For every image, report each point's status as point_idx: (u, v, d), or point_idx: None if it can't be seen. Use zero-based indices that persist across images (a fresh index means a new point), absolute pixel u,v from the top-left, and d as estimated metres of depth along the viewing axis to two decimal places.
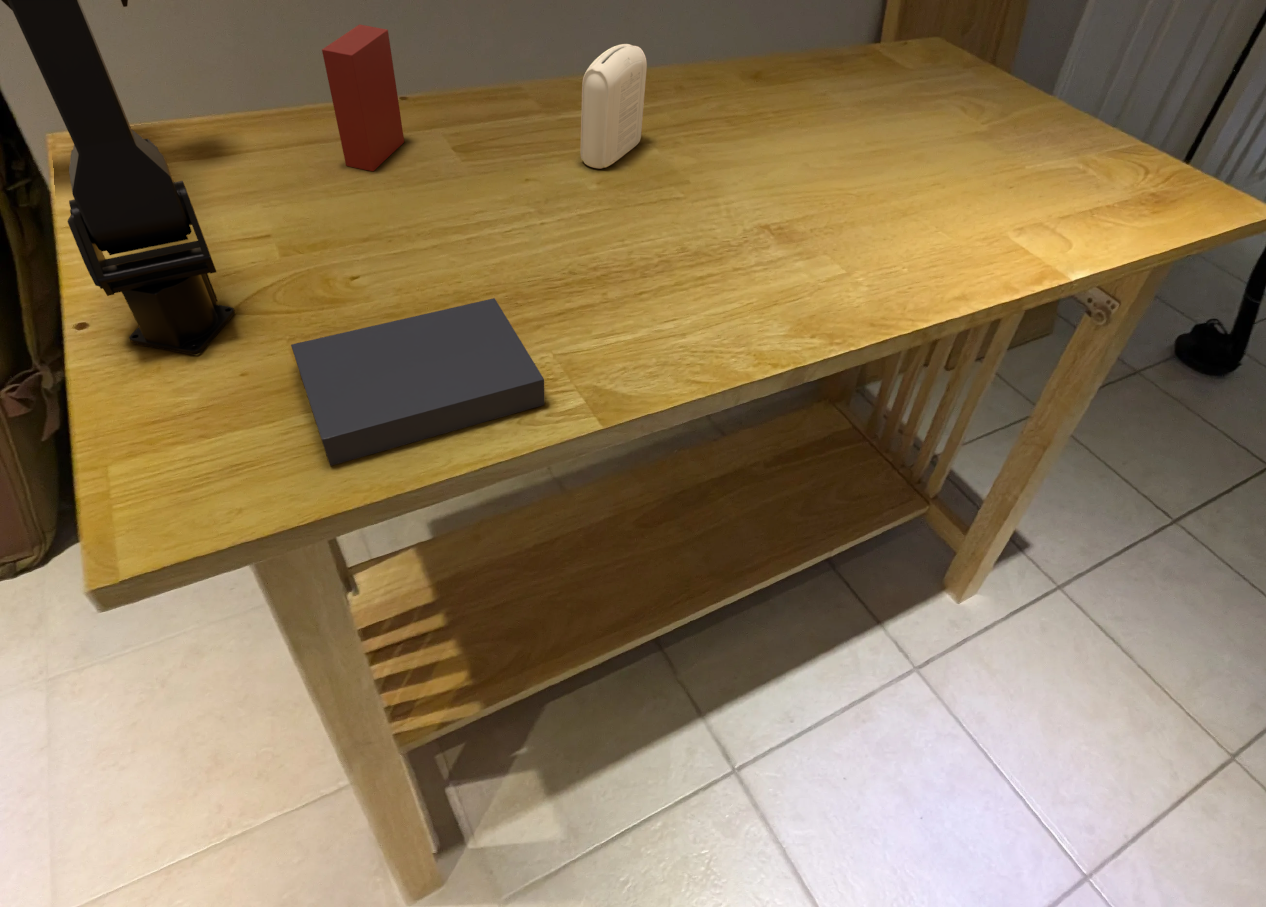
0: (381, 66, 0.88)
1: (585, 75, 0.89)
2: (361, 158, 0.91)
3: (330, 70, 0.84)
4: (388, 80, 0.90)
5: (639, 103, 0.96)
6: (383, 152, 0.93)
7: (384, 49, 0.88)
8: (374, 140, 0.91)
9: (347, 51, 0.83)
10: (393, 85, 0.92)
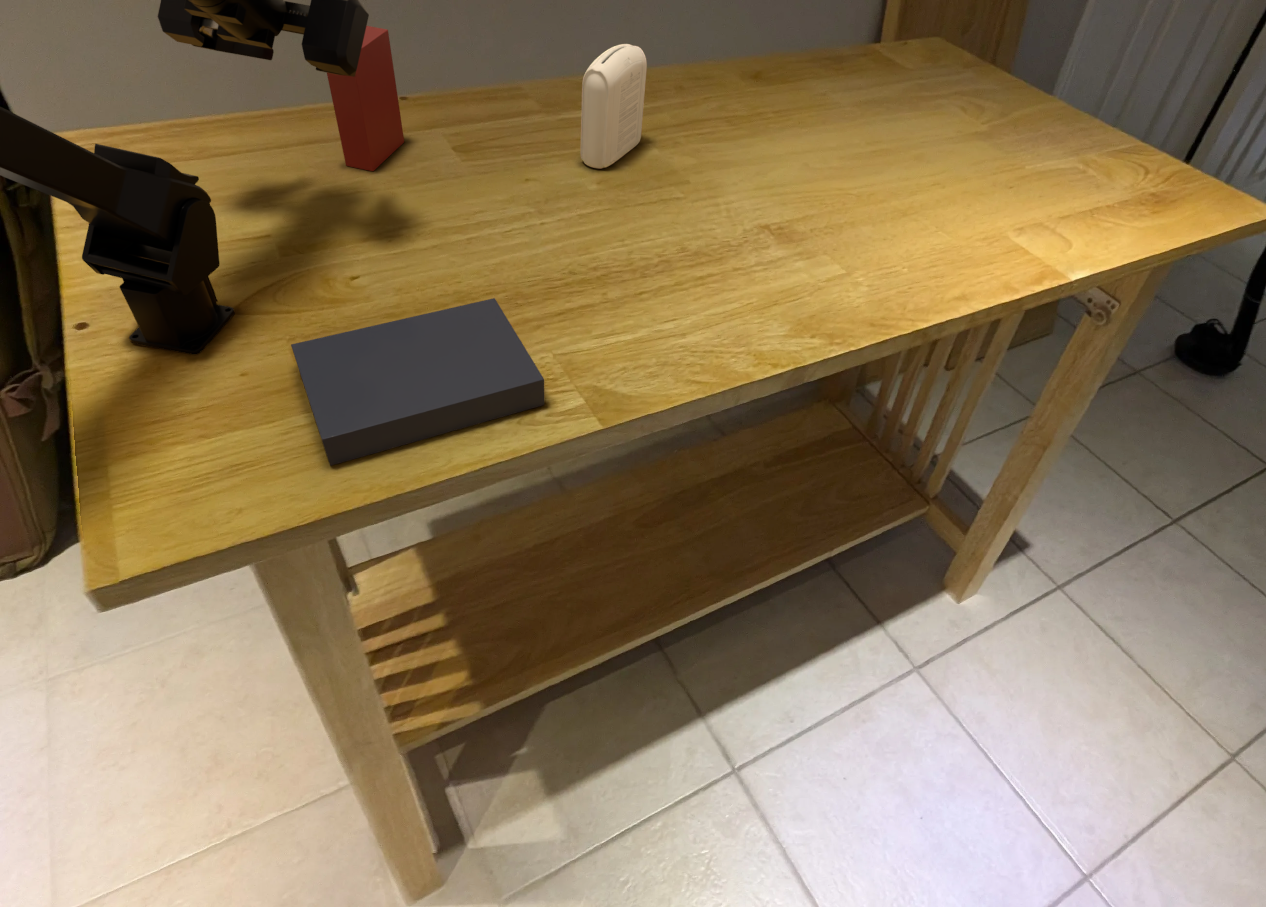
0: (381, 66, 0.88)
1: (585, 75, 0.89)
2: (361, 158, 0.91)
3: None
4: (388, 80, 0.90)
5: (639, 103, 0.96)
6: (383, 152, 0.93)
7: (384, 49, 0.88)
8: (374, 140, 0.91)
9: None
10: (393, 85, 0.92)
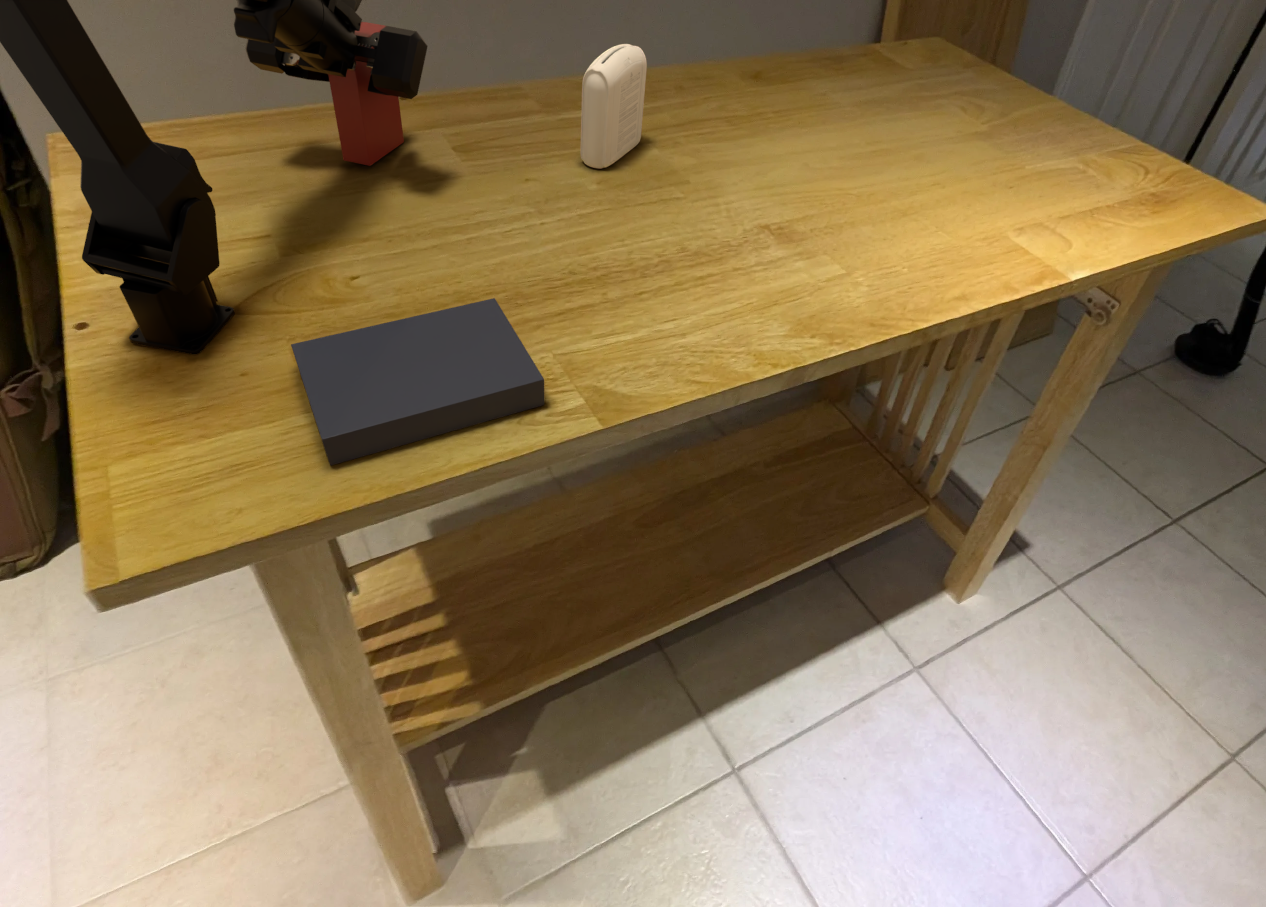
0: None
1: (585, 75, 0.89)
2: (359, 152, 0.91)
3: None
4: None
5: (639, 103, 0.96)
6: (381, 148, 0.93)
7: None
8: (372, 134, 0.91)
9: None
10: None
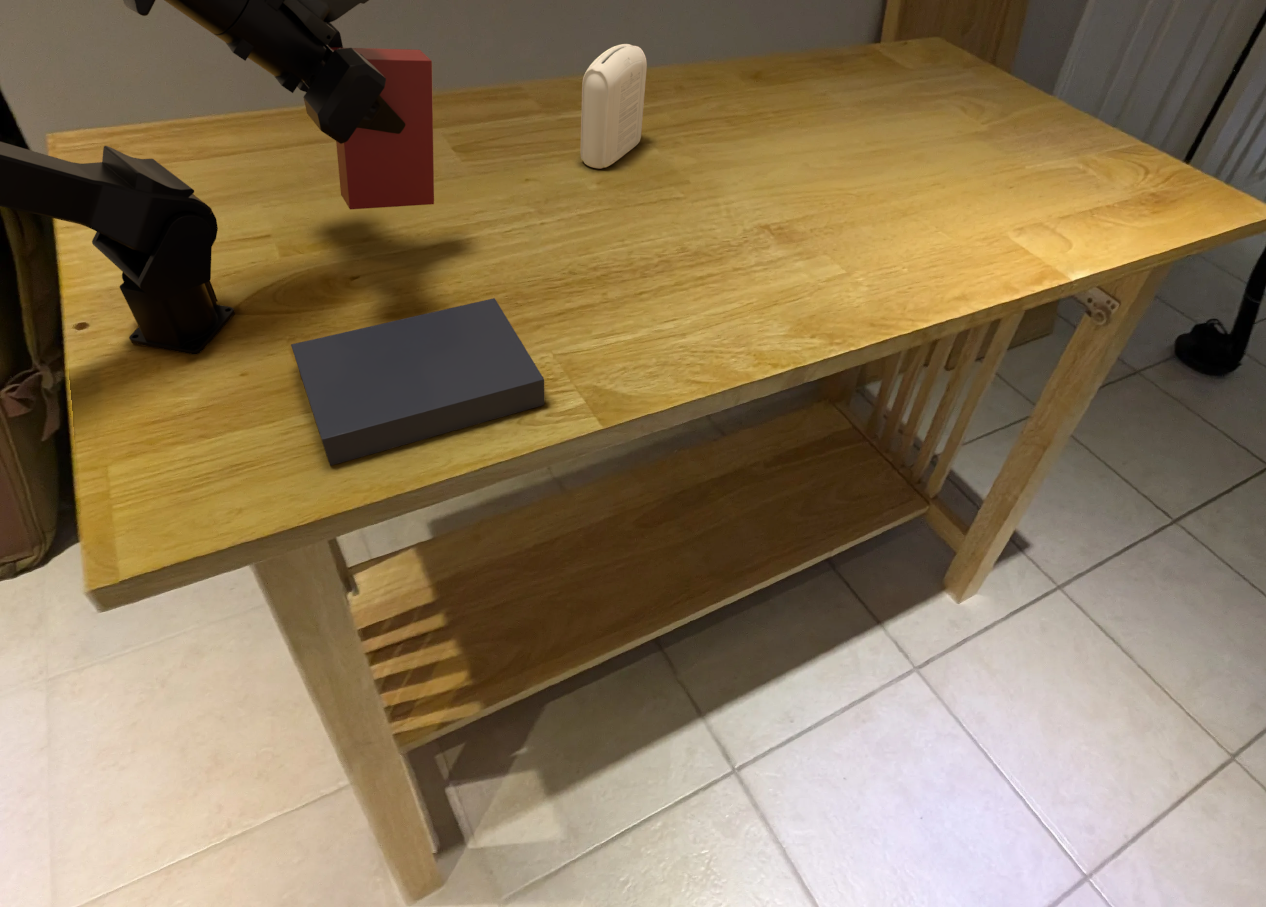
0: (404, 97, 0.70)
1: (585, 75, 0.89)
2: (345, 189, 0.73)
3: None
4: (416, 119, 0.71)
5: (639, 103, 0.96)
6: (380, 197, 0.74)
7: (416, 80, 0.69)
8: (363, 176, 0.72)
9: None
10: (426, 129, 0.72)
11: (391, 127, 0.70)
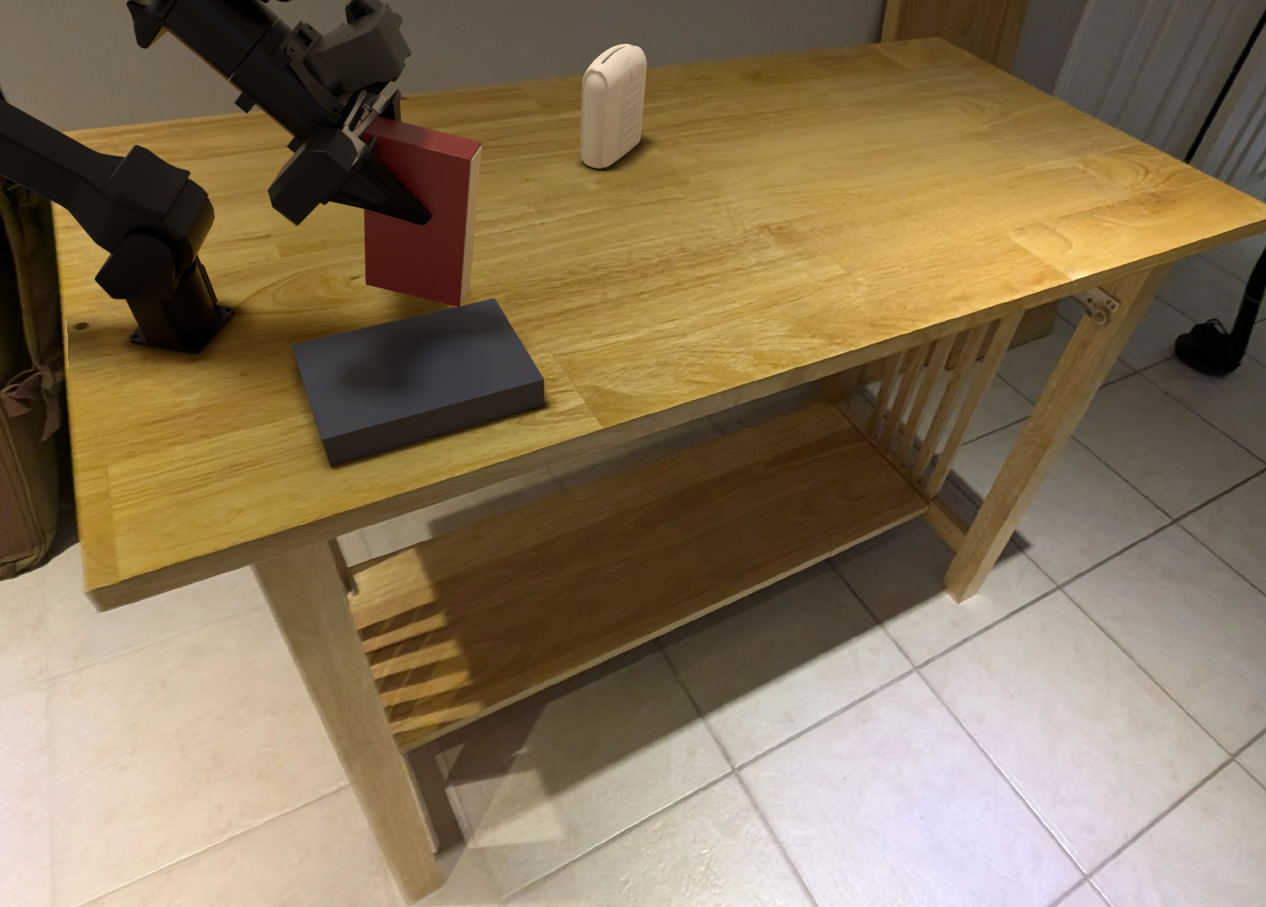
0: (433, 189, 0.60)
1: (585, 75, 0.89)
2: None
3: None
4: (445, 215, 0.61)
5: (639, 103, 0.96)
6: (399, 282, 0.66)
7: (450, 175, 0.59)
8: (382, 256, 0.64)
9: (376, 130, 0.58)
10: (456, 229, 0.62)
11: (410, 217, 0.61)
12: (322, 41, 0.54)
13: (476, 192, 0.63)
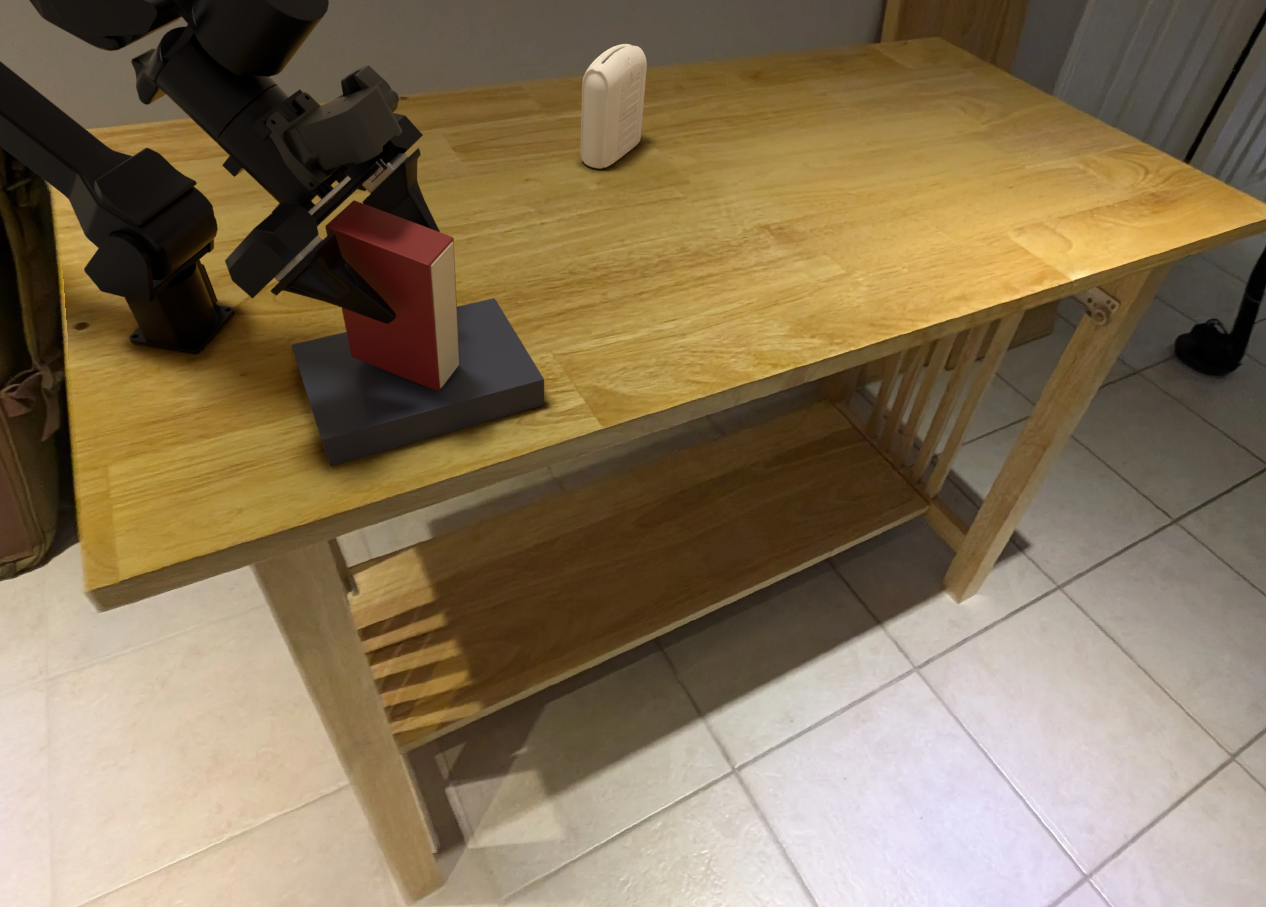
0: (399, 286, 0.56)
1: (585, 75, 0.89)
2: None
3: None
4: (413, 311, 0.58)
5: (639, 103, 0.96)
6: (381, 360, 0.63)
7: (412, 277, 0.55)
8: (362, 336, 0.62)
9: (341, 222, 0.55)
10: (425, 325, 0.58)
11: (373, 314, 0.56)
12: (311, 114, 0.52)
13: (451, 285, 0.58)
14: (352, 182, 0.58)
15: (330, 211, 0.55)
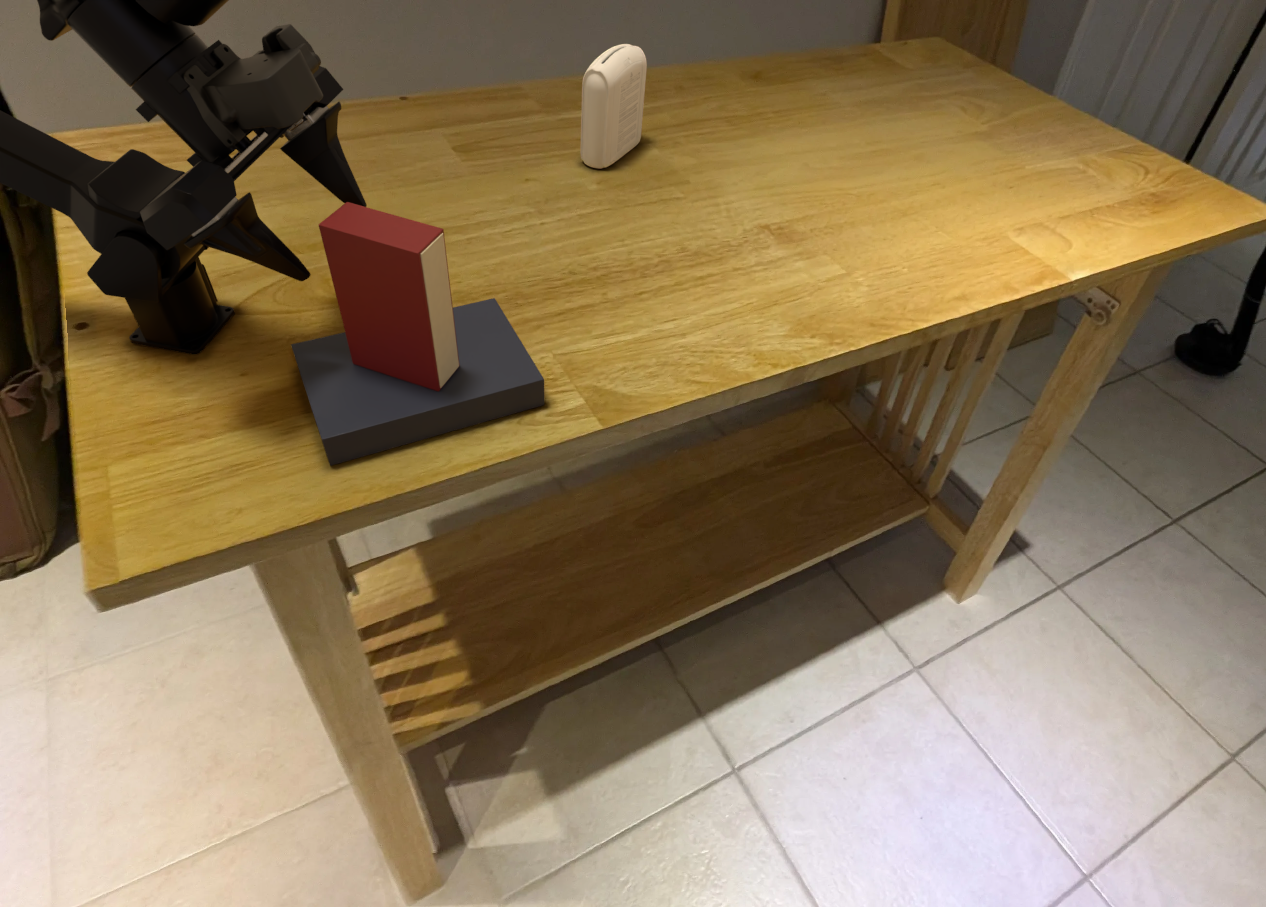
0: (392, 280, 0.57)
1: (585, 75, 0.89)
2: None
3: None
4: (408, 306, 0.58)
5: (639, 103, 0.96)
6: (381, 364, 0.64)
7: (403, 268, 0.56)
8: (361, 339, 0.63)
9: (334, 220, 0.56)
10: (420, 319, 0.59)
11: (287, 272, 0.58)
12: (230, 69, 0.53)
13: (444, 279, 0.59)
14: (270, 135, 0.58)
15: (247, 165, 0.56)
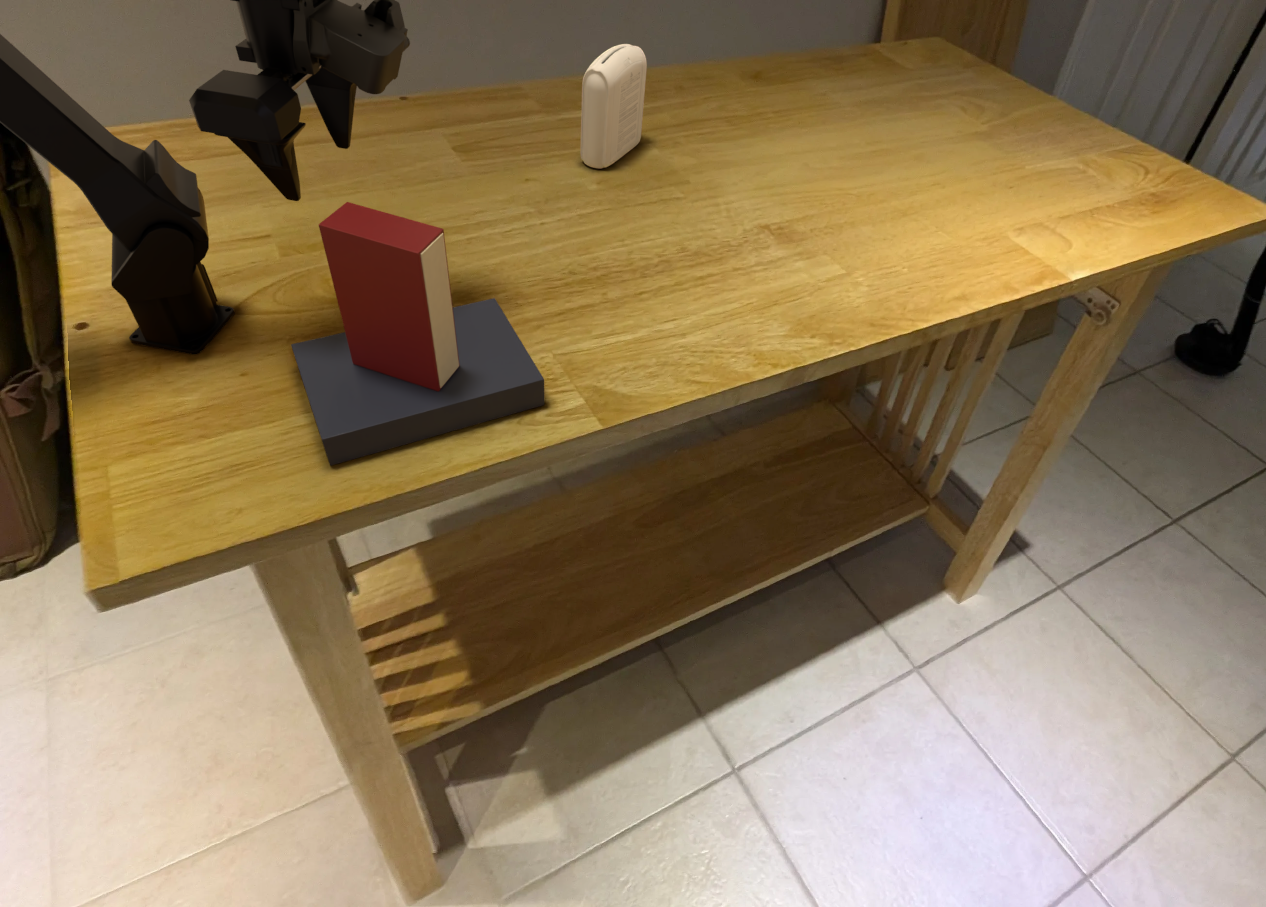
0: (392, 280, 0.57)
1: (585, 75, 0.89)
2: None
3: None
4: (408, 306, 0.58)
5: (639, 103, 0.96)
6: (381, 364, 0.64)
7: (403, 268, 0.56)
8: (361, 339, 0.63)
9: (334, 220, 0.56)
10: (420, 319, 0.59)
11: (282, 188, 0.62)
12: (334, 11, 0.57)
13: (444, 279, 0.59)
14: None
15: None
